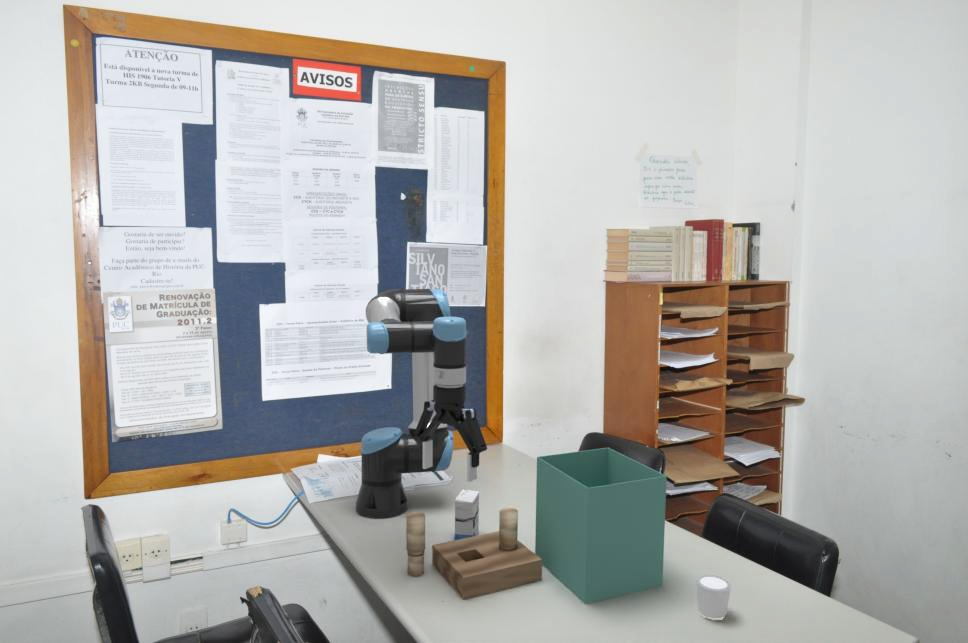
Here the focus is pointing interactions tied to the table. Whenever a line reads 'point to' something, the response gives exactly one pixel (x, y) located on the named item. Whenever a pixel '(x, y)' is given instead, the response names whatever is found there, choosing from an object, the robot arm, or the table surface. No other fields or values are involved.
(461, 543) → the seat board
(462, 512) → the ink box
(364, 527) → the table surface
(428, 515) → the table surface
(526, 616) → the table surface
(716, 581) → the light grey short cylinder
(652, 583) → the box
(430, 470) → the robot arm
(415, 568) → the beech leg
